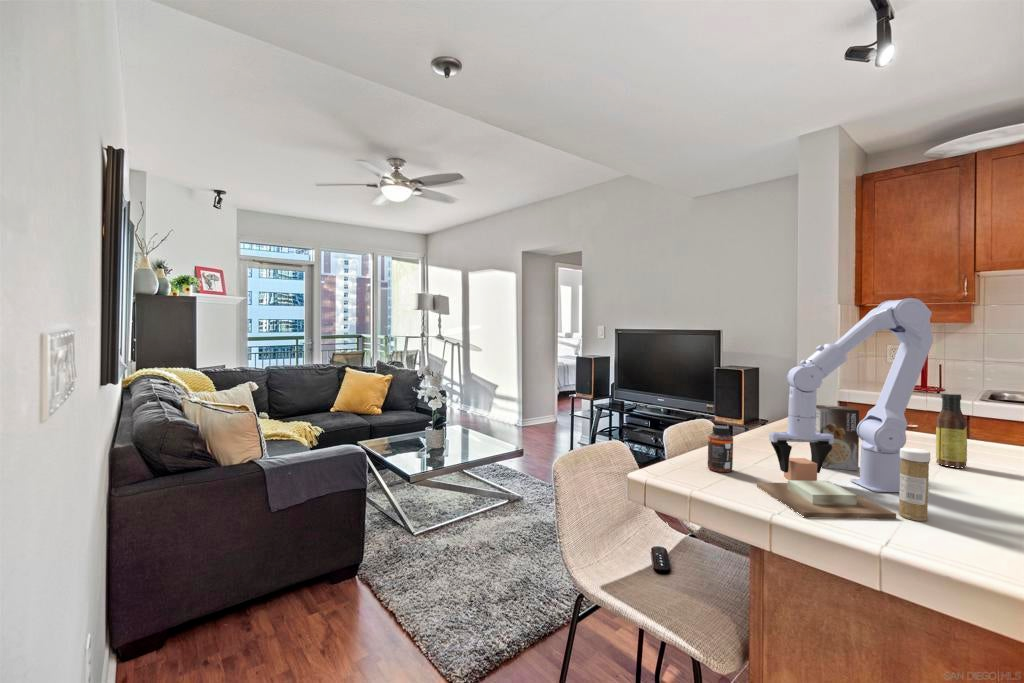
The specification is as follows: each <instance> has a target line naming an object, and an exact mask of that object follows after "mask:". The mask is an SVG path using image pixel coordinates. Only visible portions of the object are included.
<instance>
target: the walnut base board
mask: <svg viewBox="0 0 1024 683" xmlns="http://www.w3.org/2000/svg"><path fill="white" fill-rule="evenodd" d="M756 487H757V488H758V487H759V488H758V489H760V488H761V489H762V490H761V489H760V490H761V491H763V490H764V491H765V492H764V491H763V492H764V493H766V492H767V493H768V494H767V493H766V494H767V495H769V494H770V495H771V497H772V496H773V497H775V498H776V499H778V500H779V501H781V502H782V503H784V504H786V505H787V506H789V507H790V508H792V509H793V510H795V511H796V512H798V513H799V514H801V515H802V516H804V517H803V518H808V517H833V518H832V519H876V520H877V519H878V520H879V519H880V520H881V519H883V520H884V519H885V520H886V519H887V520H896V519H897V513H896V512H893V511H892V510H889V509H887V508H885V507H883V506H881V505H879V504H877V503H875V502H873V501H872V500H869V499H867V498H865V497H863V496H860V495H858V494H857V493H854V492H852V491H851V490H849V489H847V488H844V487H842V486H840V485H838V484H836V483H833V482H831V481H829V480H817V481H796V480H788V479H787V482H766V481H765V482H763V481H762V482H760V481H759V482H758V481H756ZM770 495H769V496H770ZM773 497H772V498H773ZM775 498H774V499H775ZM776 499H775V500H776ZM778 500H777V501H778ZM779 501H778V502H779ZM781 502H780V503H781ZM782 503H781V504H782ZM784 504H783V505H784ZM787 506H786V507H787ZM790 508H789V509H790ZM792 509H791V510H792ZM793 510H792V511H793ZM795 511H794V512H795ZM796 512H795V513H796ZM798 513H797V514H798ZM799 514H798V515H799ZM801 515H800V516H801ZM802 516H801V517H802Z"/></svg>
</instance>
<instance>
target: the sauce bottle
mask: <svg viewBox="0 0 1024 683" xmlns="http://www.w3.org/2000/svg"><path fill="white" fill-rule="evenodd" d="M940 396H941V397H940V398H941V400H942V401H941V411H940V412H939V413H938V414H937V416H936V427H935V458H936V464H937V463H939V464H942V465H948V466H954V467H965V466H966V467H967V462H968V434H967V433H968V425H967V422H966V421H967V420H966V419H965V417H964V415H963V412H962V409H961V401H962V394H960V393H953V392H942V393H941V394H940ZM939 464H938V465H939ZM966 467H965V468H966Z"/></svg>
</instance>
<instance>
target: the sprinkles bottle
mask: <svg viewBox="0 0 1024 683" xmlns="http://www.w3.org/2000/svg"><path fill="white" fill-rule="evenodd" d="M900 457H901V458H900V459H901V472H900V490H899V492H898V493H899V494H898V495H899V496H898V498H899V503H898V505H899V506H898V509H899V510H898V512H897V513H898V515H899V516H901V517H902V518H905V519H908V520H911V521H917V522H925V521H928V519H929V516H928V509H929V508H928V506H929V493H930V491H929V489H930V488H929V482H930V481H929V476H930V475H929V473H930V472H929V470H930V469H929V468H930V466H929V465H930V462H931V452H930V451H928V450H926V449H922V448H917V447H909V446H908V447H907V446H906V447H903V448H901V449H900Z"/></svg>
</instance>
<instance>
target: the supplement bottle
mask: <svg viewBox="0 0 1024 683" xmlns="http://www.w3.org/2000/svg"><path fill="white" fill-rule="evenodd" d="M711 431H712V433H709V434H708V442H707V469H709V470H710V471H713V472H716V473H730V472H732V470H733V466H734V465H733V464H734V462H733V460H734V436H732V435H731V434H730V427H729V426H727V425H717V424H716V425H712V430H711Z"/></svg>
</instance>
